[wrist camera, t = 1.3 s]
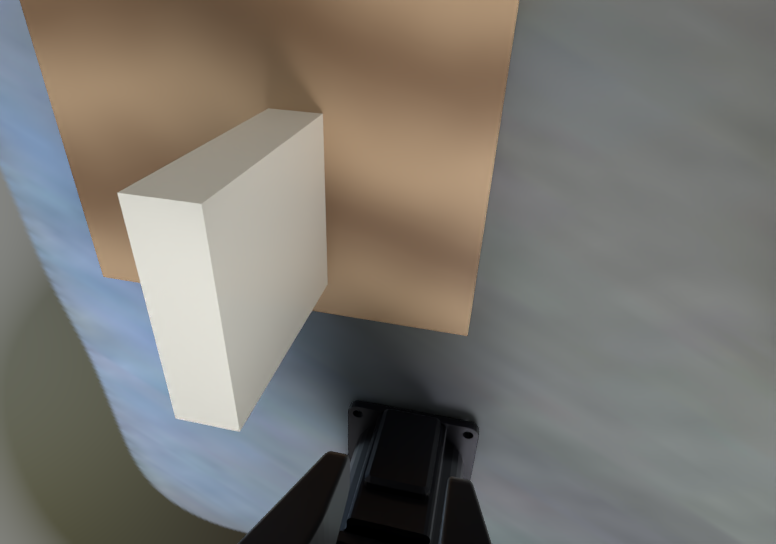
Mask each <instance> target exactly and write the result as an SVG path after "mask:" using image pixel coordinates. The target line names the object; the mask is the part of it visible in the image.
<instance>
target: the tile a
mask: <svg viewBox="0 0 776 544" xmlns="http://www.w3.org/2000/svg"><path fill="white" fill-rule="evenodd" d="M117 194H118V198H119V202H120V206H121V209H122V213H123V217H124V221H125V225H126V229H127V233H128V236H129V240H130V244H131V248H132V252H133V256H134V260H135V263H136V267H137V271H138V275H139V279H140V283H141V287H142V290H143V294H144V298H145V302H146V306H147V310H148V314H149V317H150V321H151V325H152V329H153V333H154V337H155V341H156V344H157V348H158V352H159V356H160V360H161V364H162V368H163V371H164V375H165V379H166V383H167V387H168V391H169V395H170V398H171V402H172V406H173V410H174V414H175V418H176V419H181V420H185V421H190V422H195V423H200V424H205V425H209V426H214V427H219V428H224V429H229V430H233V431H238V432H240V431H241V429H242V427H243V426H244V424H245V422H246V421H247V419H248V417H249V416H250V414H251V412H252V410H253V409H254V407H255V405H256V404H257V402H258V400H259V399H260V397H261V395H262V394H263V392H264V390H265V389H266V387H267V385H268V384H269V382H270V380H271V379H272V377H273V375H274V374H275V372H276V370H277V369H278V367H279V365H280V364H281V362H282V360H283V358H284V357H285V355H286V353H287V352H288V350H289V348H290V347H291V345H292V343H293V342H294V340H295V338H296V337H297V335H298V333H299V332H300V330H301V328H302V327H303V325H304V323H305V322H306V320H307V318H308V317H309V315H310V313H311V312H312V310H313V308H314V306H315V305H316V303H317V301H318V300H319V298H320V296H321V295H322V293H323V291H324V290H325V288H326V286H327V285H328V276H327V241H326V206H325V171H324V135H323V114H322V113H311V112H301V111H291V110H280V109H270V108H268V109H266V110H265V111H263V112H261V113H259V114H257V115H256V116H254V117H252V118H250V119H248V120H247V121H245V122H243V123H241V124H240V125H238V126H236V127H234V128H232V129H231V130H229V131H227V132H225V133H223V134H222V135H220V136H218V137H216V138H214V139H213V140H211V141H209V142H207V143H206V144H204V145H202V146H200V147H198V148H197V149H195V150H193V151H191V152H189V153H188V154H186V155H184V156H182V157H180V158H179V159H177V160H175V161H173V162H171V163H170V164H168V165H166V166H164V167H163V168H161V169H159V170H157V171H155V172H154V173H152V174H150V175H148V176H146V177H145V178H143V179H141V180H139V181H137V182H136V183H134V184H132V185H130V186H129V187H127V188H125V189H123V190H121V191H120V192H118V193H117Z"/></svg>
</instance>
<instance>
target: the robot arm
mask: <svg viewBox="0 0 776 544" xmlns="http://www.w3.org/2000/svg"><path fill="white" fill-rule="evenodd" d="M357 410H359V411H361V412H359V411H357ZM468 432H471V433H468ZM478 437H479V428H478V426H477V425H476V424H474V423H472V422H468V421H463V420H458V419H452V418H447V417H442V416H437V415H431V414H426V413H421V412H415V411H410V410H405V409H400V408H394V407H389V406H384V405H379V404H373V403H368V402H363V401H354V402H352V403H351V405H350V408H349V411H348V455H346V454H342V453H338V452H333V451H329V452H327V453H325V454H324V455H323V456H322V457H321V458H320V459H319V460H318V461H317V462H316V464H315V465H314V466H313V467H312V468H311V469H310V470H309V471H308V472H307V473H306V474H305V475H304V476H303V477H302V478H301V479H300V480H299V481H298V482H297V483H296V484H295V485H294V486H293V487H292V488H291V489H290V490H289V491H288V492H287V493H286V494H285V495H284V496H283V498H282V499H281V500H280V501H279V502H278V503H277V504H276V505H275V506H274V507H273V508H272V509H271V510H270V511H269V512H268V513H267V514H266V515H265V516H264V517H263V518H262V519H261V520H260V521H259V522H258V523H257V524H256V525H255V526H254V527H253V528H252V529H251V531H250V532H249V533H248V534H247V535H246V536H245V537H244V538H243V539H242V540H241V541H240V542H239V543H238V544H491V541H490V537H489V534H488V531H487V528H486V525H485V521H484V518H483V515H482V512H481V509H480V505H479V502H478V499H477V496H476V493H475V490H474V486H473V484H472V482H471V481H470V479H471V473H472V468H473V463H474V458H475V453H476V448H477V443H478Z"/></svg>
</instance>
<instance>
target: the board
mask: <svg viewBox="0 0 776 544" xmlns="http://www.w3.org/2000/svg"><path fill="white" fill-rule="evenodd" d="M20 3H21V6H22V9H23V13H24V16H25V19H26V23H27V26H28V29H29V33H30V36H31V39H32V42H33V46H34V49H35V52H36V56H37V59H38V62H39V66H40V69H41V72H42V76H43V79H44V82H45V85H46V89H47V92H48V95H49V99H50V102H51V105H52V109H53V112H54V115H55V118H56V122H57V125H58V128H59V132H60V135H61V138H62V142H63V145H64V148H65V151H66V155H67V158H68V161H69V165H70V168H71V171H72V175H73V178H74V181H75V185H76V188H77V191H78V194H79V198H80V201H81V204H82V208H83V211H84V214H85V218H86V221H87V224H88V227H89V231H90V234H91V237H92V241H93V244H94V247H95V251H96V254H97V257H98V261H99V264H100V267H101V270H102V274H103V277H108V278H114V279H120V280H126V281H132V282H138V283H140V279H139V275H138V271H137V267H136V263H135V260H134V256H133V252H132V248H131V244H130V240H129V236H128V233H127V229H126V225H125V221H124V217H123V213H122V209H121V206H120V202H119V198H118V194H117V193H118V192H120V191H121V190H123V189H125V188H127V187H129V186H130V185H132V184H134V183H136V182H137V181H139V180H141V179H143V178H145V177H146V176H148V175H150V174H152V173H154V172H155V171H157V170H159V169H161V168H163V167H164V166H166V165H168V164H170V163H171V162H173V161H175V160H177V159H179V158H180V157H182V156H184V155H186V154H188V153H189V152H191V151H193V150H195V149H197V148H198V147H200V146H202V145H204V144H206V143H207V142H209V141H211V140H213V139H214V138H216V137H218V136H220V135H222V134H223V133H225V132H227V131H229V130H231V129H232V128H234V127H236V126H238V125H240V124H241V123H243V122H245V121H247V120H248V119H250V118H252V117H254V116H256V115H257V114H259V113H261V112H263V111H265V110H266V109H268V108H270V109H280V110H291V111H301V112H311V113H322V114H323V135H324V171H325V206H326V241H327V276H328V285H327V286H326V288H325V290H324V291H323V293H322V295H321V296H320V298H319V300H318V301H317V303H316V305H315V306H314V308H313V310H312V311H317V312H323V313H329V314H335V315H342V316H348V317H354V318H360V319H366V320H372V321H378V322H385V323H391V324H397V325H403V326H409V327H415V328H422V329H428V330H434V331H440V332H446V333H452V334H458V335H465V336H468V330H469V323H470V317H471V310H472V304H473V297H474V291H475V284H476V278H477V271H478V265H479V258H480V252H481V245H482V239H483V232H484V226H485V219H486V213H487V206H488V200H489V193H490V187H491V180H492V174H493V167H494V161H495V154H496V148H497V141H498V135H499V128H500V122H501V115H502V109H503V102H504V96H505V89H506V83H507V76H508V70H509V63H510V57H511V50H512V44H513V37H514V31H515V24H516V18H517V11H518V5H519V0H20Z"/></svg>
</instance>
